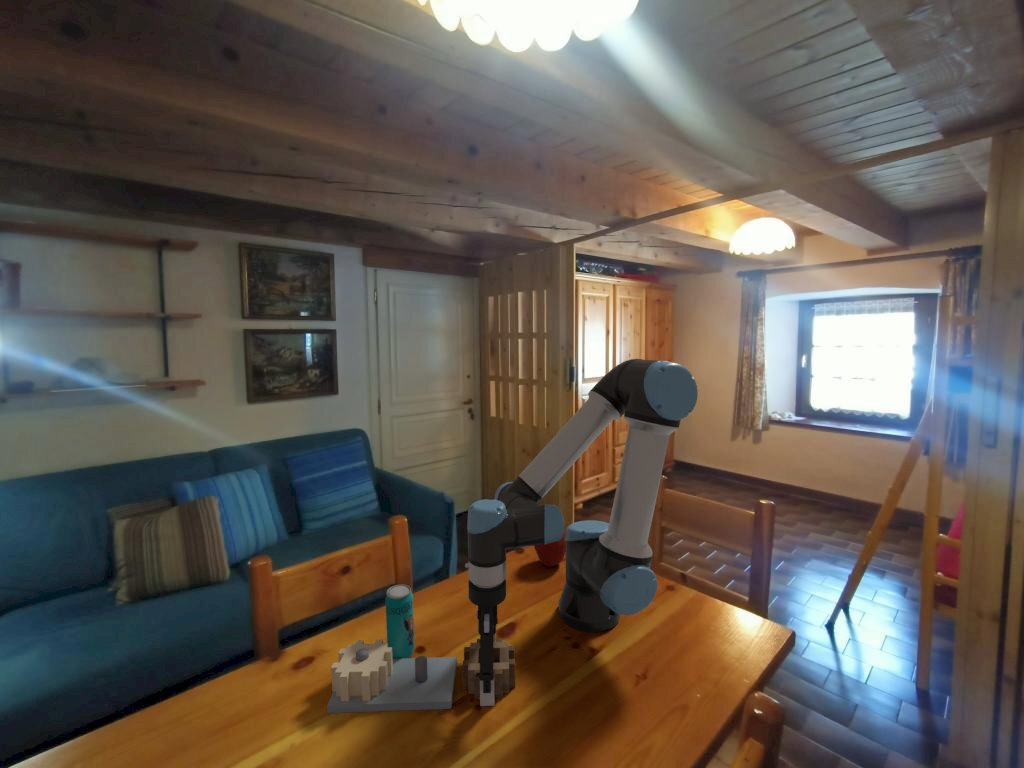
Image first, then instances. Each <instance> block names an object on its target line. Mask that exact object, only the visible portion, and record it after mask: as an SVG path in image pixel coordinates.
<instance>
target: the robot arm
mask: <svg viewBox="0 0 1024 768" xmlns="http://www.w3.org/2000/svg"><path fill="white" fill-rule="evenodd" d="M698 392H699V391H698V385H697V381H696V379H695V377H694V376H693V375H692V373H691V371H690V370H689V369H688V368H687V367H685V366H684V365H682V364H680V363H676V362H672V361H669V360H662V359H661V360H654V359H642V358H631V359H628V360H624V361H622V362H621V363H619V364H617V365H616V366H614V367H613V368H611V370H609V371H608V372H607V373H606V374H605V375H604V376H602V378H601V379H600V380H598V382H597V383H596V384H595V385H594V386H593V387H592V388H591V389H590V391H588V399H587V400H586V401H585V402H584V403H583V404H582V405H581V406H580V408H579V409H578V410H577V411H576V412H575V413H574V414H573V416H571V418H569V420H568V421H567V422H565V424H564V426H563V427H562V428H560V430H559V431H558V432H557V433H556V434H555V435H554V437H553V438H552V439H550V441H549V442H547V444H546V445H545V446H544V447H543V448H542V450H540V452H539V453H538V454H537V455H536V456H535V457H534V459H532V461H531V462H530V463H529V464H528V465H527V466H526V467H525V468H524V469H523V470H522V472H521V473H520V474H519V475H518V476H516V477H515V479H514V480H513V481H508V482H504V483H502V484H501V485H499V487H498V488H497V489H496V490H495V494H494V499H487V498H486V499H479V500H476V501H475V502H473V503H471V504H470V505H469V508H468V510H467V525H466V529H467V550H468V551H467V555H468V556H467V558H468V562H466V563H465V565H464V567H465V568H466V569H468V570H467V571H468V582H467V583H468V588H467V589H468V599H469V601H470V602H471V603H472V604H473V605H475V606H477V613H476V616H477V617H476V618H477V621H478V626H477V627H478V631H477V632H478V635H479V637H480V638H479V639H480V673H476V677H479V678H480V698H479V705H480V707H493V706H494V707H495V693H494V671H493V642H496V634H497V625H498V624H499V623H498V622H499V621H498V605H500V604H502V603H503V602H504V601H505V600H506V597H507V579H506V578H507V550H510V549H518V548H526V547H532V546H534V545H541V544H544V545H546V544H547V543H551V542H556V541H559V540H561V539H562V537H563V535H564V530H565V518H564V515H563V512H562V509H561V508H560V507H559V506H558V505H557V504H546V503H545V504H541V505H540V504H539V503H540V502H541V500H542V499H543V498H544V497H545V496H546V495H547V494H548V493H549V491H550V490H551V489H552V488H553V487H554V486H555V485H556V483H558V482H559V480H561V478H562V477H563V476H564V475H565V474H566V473H567V471H569V469H570V468H571V467H573V465H574V464H575V463H576V461H577V460H578V459H579V458H580V457H581V456H582V455H583V454H584V453H585V451H586V450H587V449H589V447H590V446H591V444H593V442H594V441H595V440H596V439H597V438H598V437H599V436H600V435H601V434H602V433H603V431H604V430H605V429H606V428H607V427H608V425H610V424H611V422H612V421H613V420H614V421H617V420H620V419H621V418H622V417H623V418H624V420H625V421H626V423H627V424H628V431H627V435H626V439H625V444H624V449H623V450H624V451H623V454H622V459H621V465H620V469H619V474H618V478H617V484H616V490H615V493H614V499H613V504H612V508H611V513H610V518H609V522H605V521H603V520H602V521H601V520H594V519H593V520H592V519H591V520H590V519H589V520H588V519H587V520H580V521H579V520H578V521H575V522H573V523H571V524H569V525H568V526H567V528H566V530H565V532H566V538H565V541H566V552H565V582H564V586H563V588H562V592H561V594H560V598H559V600H558V614H559V617H560V619H561V620H562V621H563V622H564V623H565V624H566V625H568V626H570V627H571V628H574V629H575V630H576V629H577V630H580V631H583V632H604V631H607V630H610V629H612V628H614V627H615V626H616V625H617V624H618V623H619V621H620V619H621V616H632V615H636V614H639V613H640V612H642V611H643V610H644V609H645V608H648V606H649V605H650V604H651V603H652V602H653V601H654V598H655V596H656V595H657V591H658V583H659V582H658V579H657V577H656V574H655V572H654V570H652V569H651V565H652V564H651V563H652V559H653V550H652V548H651V546H650V544H649V543H648V541H649V535H650V532H651V526H652V521H653V517H654V514H655V513H654V512H655V506H656V503H657V498H658V497H657V496H658V493H659V492H658V491H659V487H660V483H661V478H662V473H663V469H664V464H665V459H666V455H667V454H666V453H667V450H668V445H669V440H670V436H671V434H673V433H674V432H676V431H678V430H680V426H681V425H680V424H681V421H682V419H684V418H686V417H688V416H689V414H690V413H692V412H693V411H694V409H695V407H696V405H697V402H698V398H699V397H698V395H699V393H698Z"/></svg>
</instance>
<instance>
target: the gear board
mask: <svg viewBox="0 0 1024 768" xmlns="http://www.w3.org/2000/svg"><path fill="white" fill-rule="evenodd" d="M457 668H458V658H457V656H447V657H446V656H445V657H443V656H442V657H426V656H425V655H420V656H417V657H412V658H411V657H410V658H402V659H393V658H392V647H388V643H387V642H384V639H375V641H374V642H373V643H364V639H357V640H356V641H355V643H349V644H348V645H347V646H346V648H345V647H344V648H340V650H339V651H338V661H335V662H332V665H331V667H330V673H331V674H330V675H331V691H332V694H331V696H330V698H329V701H328V703H327V704H326V708H327V709H326V710H327V714H331V713H333V714H334V713H358V712H359V713H360V712H389V711H393V712H394V711H422V710H423V711H424V710H428V711H429V710H451V709H452V706H453V705H452V704H453V699H454V691H455V683H456V673H457Z"/></svg>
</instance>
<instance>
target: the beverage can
mask: <svg viewBox="0 0 1024 768" xmlns="http://www.w3.org/2000/svg"><path fill="white" fill-rule="evenodd" d="M384 599H385V600H384V601H385V622H386V643H388V647H392V658H393V659H402V658H411V657H412V655H413V652H414V650H415V625H414V596H413V593H412V589H411V586H409V585H407V584H402V583H401V584H395V585H393V586H391V587H389V588H388V589H387V591H386V597H385V598H384Z"/></svg>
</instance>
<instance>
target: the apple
mask: <svg viewBox="0 0 1024 768" xmlns="http://www.w3.org/2000/svg"><path fill="white" fill-rule="evenodd" d="M565 538H566V530H565V529H564V535H563V537H562V539H561V540H559V541H556V542H551V543H547V544H546V545H544V544H541V545H534V550H535V553H536V554H537V557H538V559H539V561H540V562H541V563H542V564H543V565H545V567H548V568H551V567H555V566H556V565H557V566H558V564H560V563H561V562H562V561H563V559H564V557H565V555H566V541H565Z"/></svg>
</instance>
